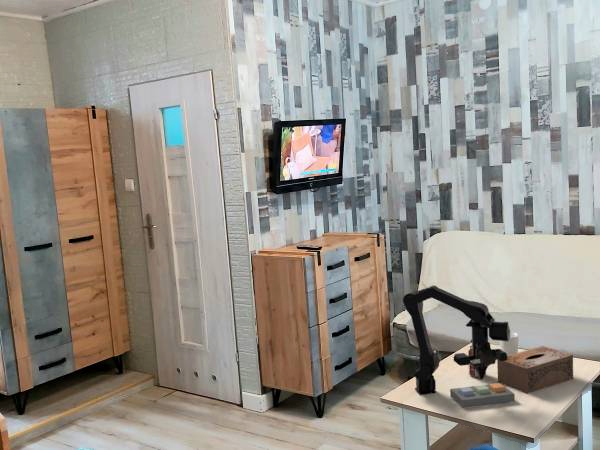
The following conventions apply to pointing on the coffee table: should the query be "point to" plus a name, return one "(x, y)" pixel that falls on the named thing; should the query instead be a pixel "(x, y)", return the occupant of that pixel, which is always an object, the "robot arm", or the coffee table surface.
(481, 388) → the green button
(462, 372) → the coffee table surface
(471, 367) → the soda can
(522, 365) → the tissue box cover
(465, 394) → the blue button
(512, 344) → the white cup
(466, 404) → the button panel
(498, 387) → the orange button
